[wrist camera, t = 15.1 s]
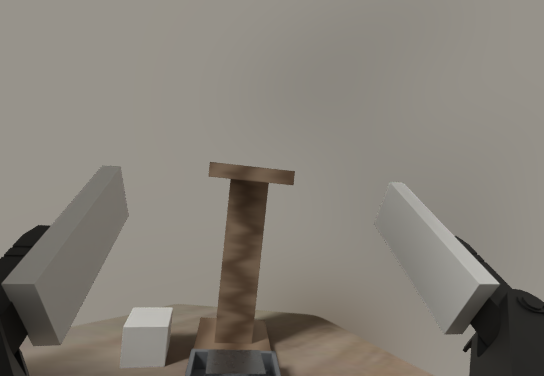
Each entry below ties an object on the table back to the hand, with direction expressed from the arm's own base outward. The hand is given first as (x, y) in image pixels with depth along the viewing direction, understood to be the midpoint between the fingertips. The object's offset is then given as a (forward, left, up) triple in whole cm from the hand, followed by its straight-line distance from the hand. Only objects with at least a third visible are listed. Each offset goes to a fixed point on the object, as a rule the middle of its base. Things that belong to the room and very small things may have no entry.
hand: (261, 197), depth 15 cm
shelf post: (+1, +33, -28) cm, 43 cm away
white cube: (-12, +31, -28) cm, 43 cm away
